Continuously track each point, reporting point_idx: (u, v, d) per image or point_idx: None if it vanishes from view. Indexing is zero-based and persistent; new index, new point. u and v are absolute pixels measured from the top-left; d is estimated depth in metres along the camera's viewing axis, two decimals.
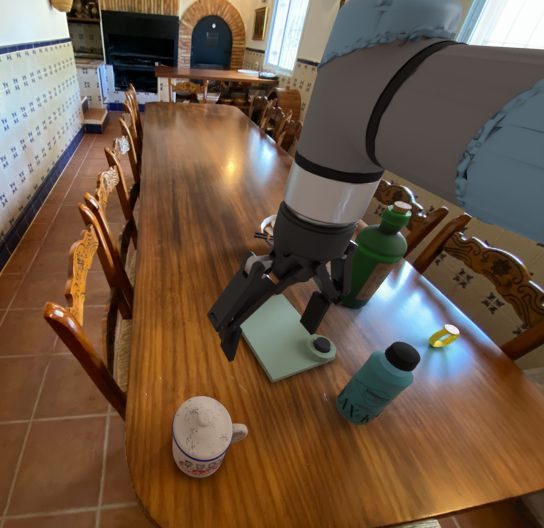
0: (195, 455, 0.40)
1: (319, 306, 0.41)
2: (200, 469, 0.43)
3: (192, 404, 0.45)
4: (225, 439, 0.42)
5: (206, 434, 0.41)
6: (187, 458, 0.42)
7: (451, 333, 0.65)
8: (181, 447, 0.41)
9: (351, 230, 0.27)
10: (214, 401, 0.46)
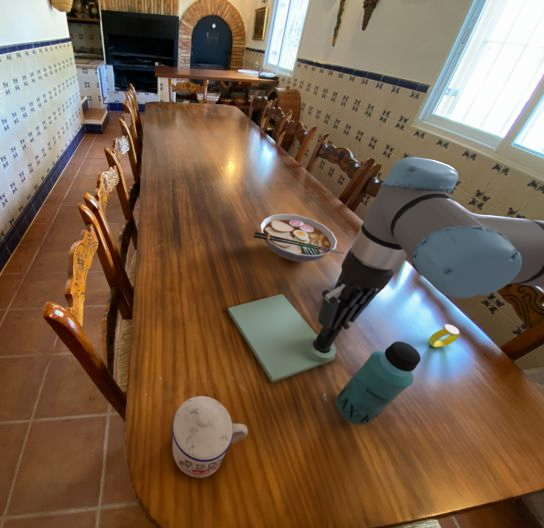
0: (195, 455, 0.40)
1: None
2: (200, 469, 0.43)
3: (192, 404, 0.45)
4: (225, 439, 0.42)
5: (206, 434, 0.41)
6: (187, 458, 0.42)
7: (451, 333, 0.65)
8: (181, 447, 0.41)
9: (394, 271, 0.46)
10: (214, 401, 0.46)
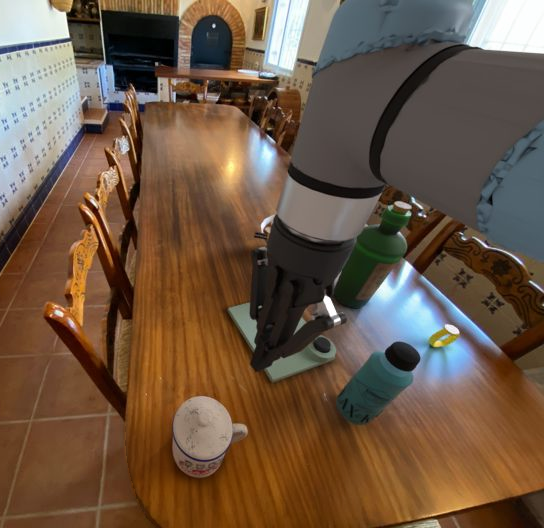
0: (195, 455, 0.40)
1: None
2: (200, 469, 0.43)
3: (192, 404, 0.45)
4: (225, 439, 0.42)
5: (206, 434, 0.41)
6: (187, 458, 0.42)
7: (451, 333, 0.65)
8: (181, 447, 0.41)
9: (292, 241, 0.25)
10: (214, 401, 0.46)
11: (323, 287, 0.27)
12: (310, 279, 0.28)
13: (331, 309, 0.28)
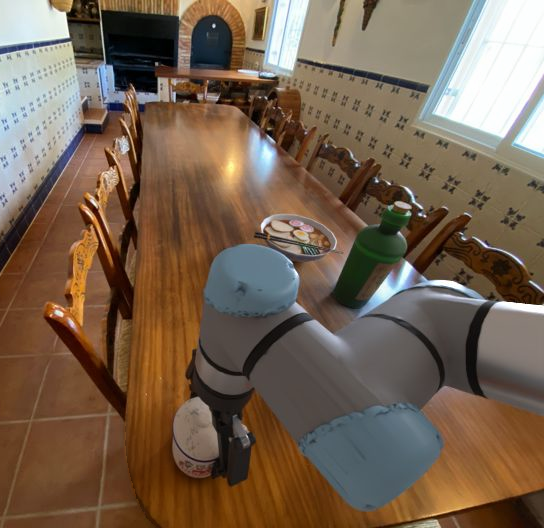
0: (195, 456, 0.40)
1: None
2: (200, 469, 0.43)
3: (192, 404, 0.45)
4: None
5: (206, 435, 0.41)
6: (187, 459, 0.42)
7: None
8: (181, 448, 0.41)
9: (203, 385, 0.33)
10: None
11: (231, 416, 0.34)
12: None
13: (241, 430, 0.34)
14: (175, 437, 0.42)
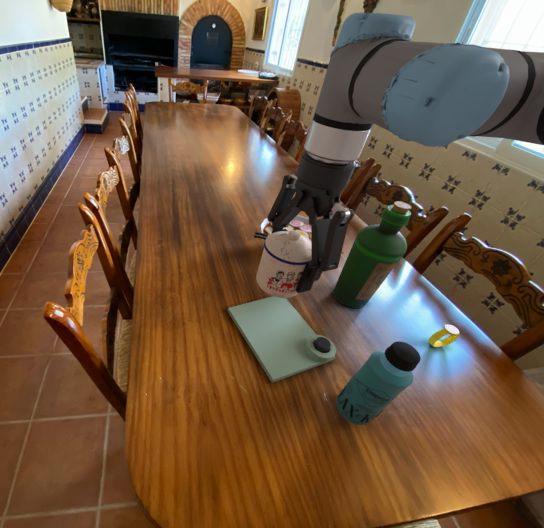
0: (290, 258, 0.48)
1: None
2: (289, 281, 0.51)
3: (279, 233, 0.53)
4: None
5: (297, 245, 0.49)
6: (280, 267, 0.50)
7: (451, 333, 0.65)
8: (277, 255, 0.49)
9: (313, 163, 0.41)
10: None
11: (332, 197, 0.42)
12: (321, 193, 0.44)
13: (341, 207, 0.42)
14: (270, 250, 0.50)
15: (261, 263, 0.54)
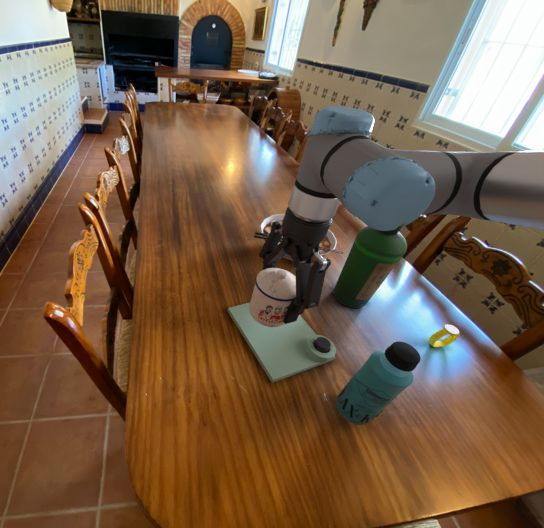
0: (277, 296, 0.55)
1: None
2: (277, 314, 0.58)
3: (268, 270, 0.60)
4: None
5: (284, 283, 0.56)
6: (269, 302, 0.57)
7: (451, 333, 0.65)
8: (266, 292, 0.56)
9: (295, 220, 0.48)
10: (284, 270, 0.61)
11: (312, 247, 0.49)
12: (303, 243, 0.50)
13: (320, 256, 0.49)
14: (260, 287, 0.57)
15: (253, 296, 0.61)
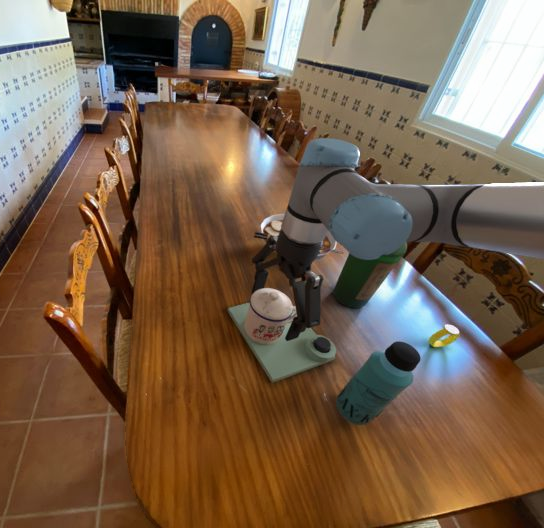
0: (270, 316, 0.59)
1: None
2: (270, 333, 0.62)
3: (262, 291, 0.64)
4: (288, 310, 0.61)
5: (276, 304, 0.60)
6: (262, 322, 0.61)
7: (451, 333, 0.65)
8: (259, 313, 0.60)
9: (288, 242, 0.50)
10: (277, 290, 0.65)
11: (304, 267, 0.52)
12: (294, 263, 0.53)
13: (312, 273, 0.51)
14: (254, 308, 0.61)
15: (247, 315, 0.65)
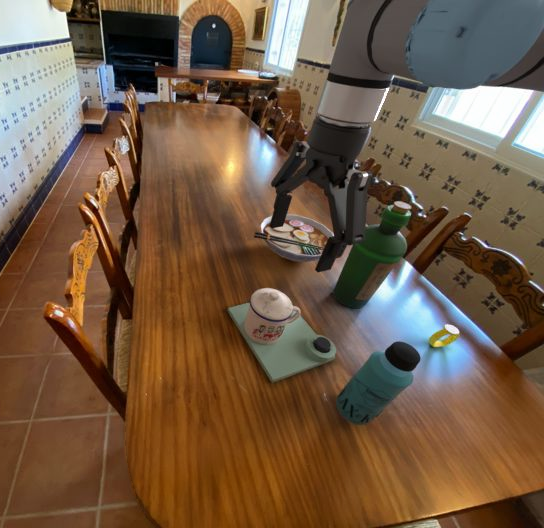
0: (270, 316, 0.59)
1: None
2: (270, 333, 0.62)
3: (262, 291, 0.64)
4: (288, 310, 0.61)
5: (276, 304, 0.60)
6: (262, 322, 0.61)
7: (451, 333, 0.65)
8: (259, 313, 0.60)
9: (327, 127, 0.39)
10: (277, 290, 0.65)
11: (346, 164, 0.40)
12: (332, 162, 0.42)
13: (356, 170, 0.40)
14: (254, 308, 0.61)
15: (247, 315, 0.65)
